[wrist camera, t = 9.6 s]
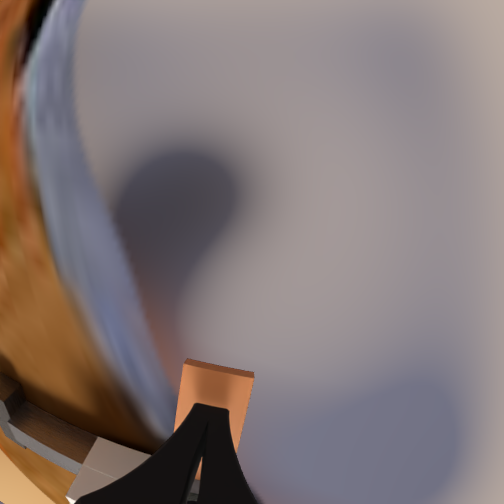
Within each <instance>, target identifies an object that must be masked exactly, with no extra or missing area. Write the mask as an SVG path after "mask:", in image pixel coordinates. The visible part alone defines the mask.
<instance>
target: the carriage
mask: <svg viewBox="0 0 504 504" xmlns="http://www.w3.org/2000/svg"><path fill="white" fill-rule="evenodd" d="M150 456H151V455H148V454H145V453H142V452H139V451H136V450H133V449H130V448H127V447H124V446H121V445H119V444H116V443H113V442H111V441H108V440H106V439H103V438H101V437H98V438H97V440H96V441H95V443H94V445H93V447H92V448H91V450H90V452H89V454H88V455H87V457H86V459H85V461H84V462H83V465H82V467H81V469H80V471H79V473H78V474H77V476H76V478H75V480H74V482H73V483H72V485H71V487H70V489H69V491H68V493H67V494H66V497H67V499H68V500H69V502H70V503H71V504H74V503H75V502H76V501H77V500H78V499H79V498H80V497H81V496H83V495H86V494H88V493H91V492H93V491H96V490H98V489H101V488H103V487H105V486H107V485H109V484H110V483H112V482H114V481H116V480H118V479H119V478H121V477H123V476H124V475H126V474H128V473H129V472H131V471H132V470H133V469H135V468H136V467H138V466H139V465H140V464H142V463H143V462H144V461H145V460H147V459H148V458H149V457H150Z"/></svg>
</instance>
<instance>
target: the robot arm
mask: <svg viewBox="0 0 504 504" xmlns="http://www.w3.org/2000/svg"><path fill="white" fill-rule="evenodd" d="M229 412H230V411H229V410H228V409H226V408H221V407H216V406H211V405H206V404H202V403H194V405H193V407H192V409H191V410H190V412H189V414H188V415H187V417H186V418H185V419H184V421H183V422H182V423H181V425H180V426H179V427H178V428H177V430H176V431H175V432H174V433H173V434H172V436H171V437H170V438H169V439H168V440H167V441H166V442H165V443H164V444H163V445H162V446H161V447H160V448H159V449H158V450H157V451H156V452H155V453H154V454H153V455H151V456H150V457H149V458H148V459H147V460H145V461H144V462H143V463H142V464H140V465H139V466H138V467H136V468H135V469H133V470H132V471H131V472H129V473H128V474H126V475H124V476H123V477H121V478H119V479H118V480H116V481H114V482H112V483H110V484H109V485H107V486H105V487H103V488H101V489H98V490H96V491H93V492H91V493H88V494H86V495H83V496H81V497H80V498H79V499H78V500H77V501H76V502H75V503H74V504H187V500H188V497H189V494H190V491H191V488H192V485H193V482H194V479H195V476H196V474H197V471H198V468H199V465H200V462H201V459H202V464H201V474H200V484H199V494H198V498H197V503H196V504H258V503H257V501H256V500H255V498H254V496H253V494H252V492H251V490H250V488H249V486H248V484H247V482H246V480H245V477H244V475H243V472H242V470H241V467H240V464H239V461H238V458H237V455H236V452H235V448H234V444H233V440H232V435H231V429H230V420H229ZM0 504H3V503H2V502H1V501H0Z"/></svg>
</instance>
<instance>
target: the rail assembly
mask: <svg viewBox="0 0 504 504" xmlns="http://www.w3.org/2000/svg"><path fill="white" fill-rule="evenodd" d="M0 426H1V428H2V430H3V431H4V433H5V435H6V436H7V437H8V438H10V439H11V440H12V441H14V442H15V443H17V444H18V445H20V446H21V447H23V448H25V449H26V448H29V449H30V450H32V451H34V452H35V453H37V454H39V455H40V456H42V457H44V458H46V459H47V460H49V461H51V462H53V463H55V464H57V465H58V466H60V467H62V468H64V469H66V470H68V471H70V472H72V473H74V474H76V475H77V474H78V473H79V471H80V469H81V467H82V465H83V462H84V461H85V459H86V457H87V455H88V454H89V452H90V450H91V448H92V447H93V445H94V443H95V441H96V440H97V438H98V437H99V436H96V435H94V434H92V433H89V432H87V431H85V430H82V429H80V428H78V427H76V426H74V425H71V424H69V423H67V422H65V421H63V420H61V419H59V418H57V417H55V416H53V415H51V414H49V413H48V412H46V411H44V410H42V409H40V408H38V407H37V406H35V405H33V404H31V403H30V402H28V401H26V398H25V395H24V392H23V389H22V386H21V384H19V383H18V382H16V381H14V380H13V379H11V378H10V377H8V376H6V375H5V374H3V373H2V372H0ZM103 439H104V438H103ZM108 441H109V440H108ZM113 443H114V442H113ZM116 444H117V443H116ZM121 446H122V445H121ZM124 447H125V446H124ZM127 448H128V447H127ZM130 449H131V448H130ZM133 450H134V449H133ZM136 451H137V450H136ZM139 452H140V451H139ZM142 453H143V452H142ZM145 454H146V453H145ZM148 455H149V454H148ZM197 498H198V494H195V493H191V492H190V494H189V497H188V500H187V504H196V503H197Z"/></svg>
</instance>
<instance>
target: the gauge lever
mask: <svg viewBox="0 0 504 504" xmlns="http://www.w3.org/2000/svg"><path fill="white" fill-rule="evenodd" d="M253 382H254V372H249V371H244V370H239V369H234V368H228V367H223V366H219V365H214V364H210V363H205V362H201V361H196V360H192V359H187V360H186V361H185V363H184V365H183V371H182V378H181V384H180V391H179V398H178V405H177V412H176V419H175V427H174V432H175V431H176V430H177V428H178V427H179V426H180V425H181V423H182V422H183V421H184V419H185V418H186V417H187V415H188V414H189V412H190V410H191V409H192V407H193V405H194V403H202V404H206V405H211V406H216V407H221V408H226V409H228V410H229V411H230V412H229V420H230V429H231V435H232V440H233V444H234V448H235V452H236V453H237V449H238V445H239V441H240V437H241V433H242V429H243V425H244V420H245V416H246V412H247V408H248V403H249V399H250V395H251V391H252V386H253ZM201 464H202V459H201V462H200V465H199V468H198V471H197V474H196V476H195V479H194V482H193V485H192V488H191V491H190V492H191V493H195V494H199V484H200V474H201Z"/></svg>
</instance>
